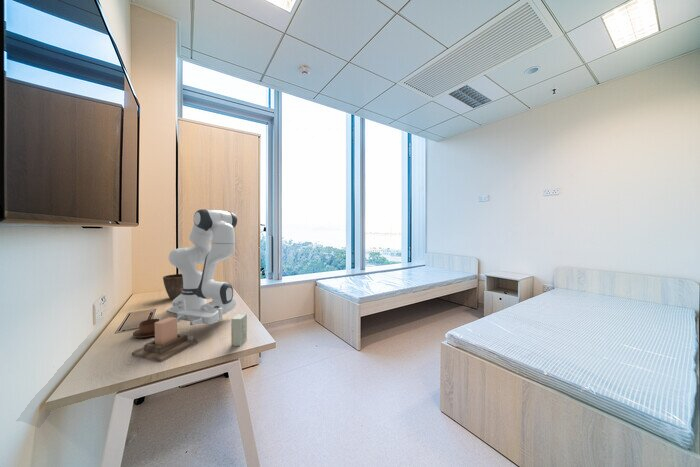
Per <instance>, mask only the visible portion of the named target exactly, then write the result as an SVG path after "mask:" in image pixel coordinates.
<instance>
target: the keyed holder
mask: <svg viewBox="0 0 700 467" xmlns="http://www.w3.org/2000/svg"><path fill="white" fill-rule="evenodd" d="M198 342H199V339H198V338H197V339H196V338H194V336H193V335H189V337H188V335H187V334H181V333H177V339H175V340H173V341H171V342H169V343H166V344H164V345H162V346H161V345H155V339H154V340H152V341H150V342H148V343H145V344H143V347H141V348H138V349H136V350H134V351H132V352H131V356H135V357H139V358H143V359H148V360H152V361H157V362H162V363H163V362H164V361H165V360H168V359H170V358H171V357H173V356H176V355H177V354H179V353H180V352H182V351H185V350H186V349H188V348H191V347H192V346H194V345H195V344H197V343H198Z"/></svg>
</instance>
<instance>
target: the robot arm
mask: <svg viewBox="0 0 700 467" xmlns="http://www.w3.org/2000/svg"><path fill="white" fill-rule="evenodd" d="M193 223H194V224H193V226H192V228H191V231H190V234H189V237H188V238H189V241H190V242H191V243H192V244H193V246H186V247H178V248H175V249H172V250H171V251H170V252H169V254H168V261H169V263H170V264H171V265H172V266H174V267H175V268H177V269H178V270H179V272H180V274H182V276H183V288H181V289H182V291H181V290H180V291H181V294H180V295H179V296H178V297H176V298H175V299H174V300H172V302H171V306H170V307H168V308H167V310H166V312H170V313H174V314H176V316H177V317H176V318H177V324H178V323H181V321H183V322H189V326H196V325H202V324H203V325H212V324H215V323H217V322H221V321H222V320H223V315H225V314H227V313H229V312H231V311H233V309H234V308H235V307H236V305H237V299H236V297H235V296H234V288H233V285H232V284H231V283H230V282H228V281H227V282H226V281H217V280H215V279H214V278H215V274H216V273H215V272H216V268H217V265H218V263H220V262H222V261H224V260H227V259H228V258H230V257H231V256H232V255H233V254H234V252H235V248H236V246H235V245H236V236H235V235H236V234H235V228H236V226H237V225H238V217H237V215H236V214H235V213H234V212H232V211H226V210H220V209H204V208H203V209H197V210H196V212H194V215H193ZM201 264H203V268H202V270H199V269H197V268H196V265H201ZM210 299H211V300H212V301H209V302H207V300H210Z"/></svg>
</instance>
